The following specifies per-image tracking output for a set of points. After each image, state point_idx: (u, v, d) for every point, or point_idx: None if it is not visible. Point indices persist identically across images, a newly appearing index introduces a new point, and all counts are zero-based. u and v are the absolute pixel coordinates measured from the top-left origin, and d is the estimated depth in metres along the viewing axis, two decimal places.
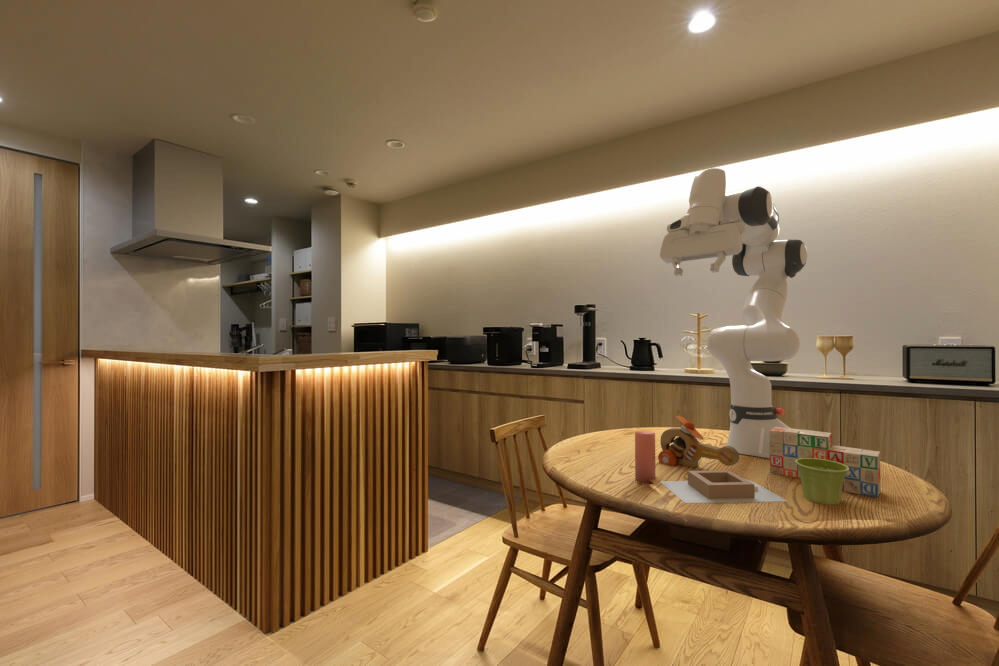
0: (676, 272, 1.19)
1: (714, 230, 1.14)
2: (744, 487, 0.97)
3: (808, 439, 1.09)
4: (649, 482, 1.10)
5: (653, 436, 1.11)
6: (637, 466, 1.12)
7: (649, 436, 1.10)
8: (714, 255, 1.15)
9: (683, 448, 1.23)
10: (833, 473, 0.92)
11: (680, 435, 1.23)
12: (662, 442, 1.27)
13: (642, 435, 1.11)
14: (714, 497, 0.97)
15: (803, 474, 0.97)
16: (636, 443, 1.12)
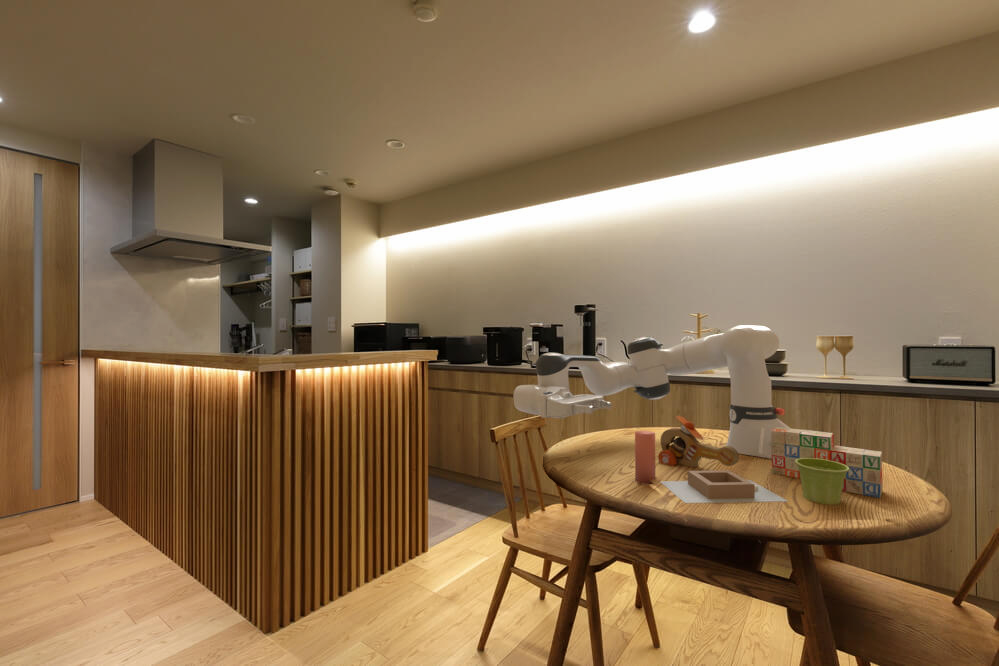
0: (590, 406, 1.18)
1: (576, 395, 1.31)
2: (744, 487, 0.97)
3: (810, 439, 1.09)
4: (649, 482, 1.10)
5: (653, 436, 1.11)
6: (637, 466, 1.12)
7: (649, 436, 1.10)
8: None
9: (683, 448, 1.22)
10: (833, 473, 0.92)
11: (680, 435, 1.23)
12: (662, 442, 1.27)
13: (642, 435, 1.11)
14: (714, 497, 0.97)
15: (803, 474, 0.97)
16: (636, 443, 1.12)
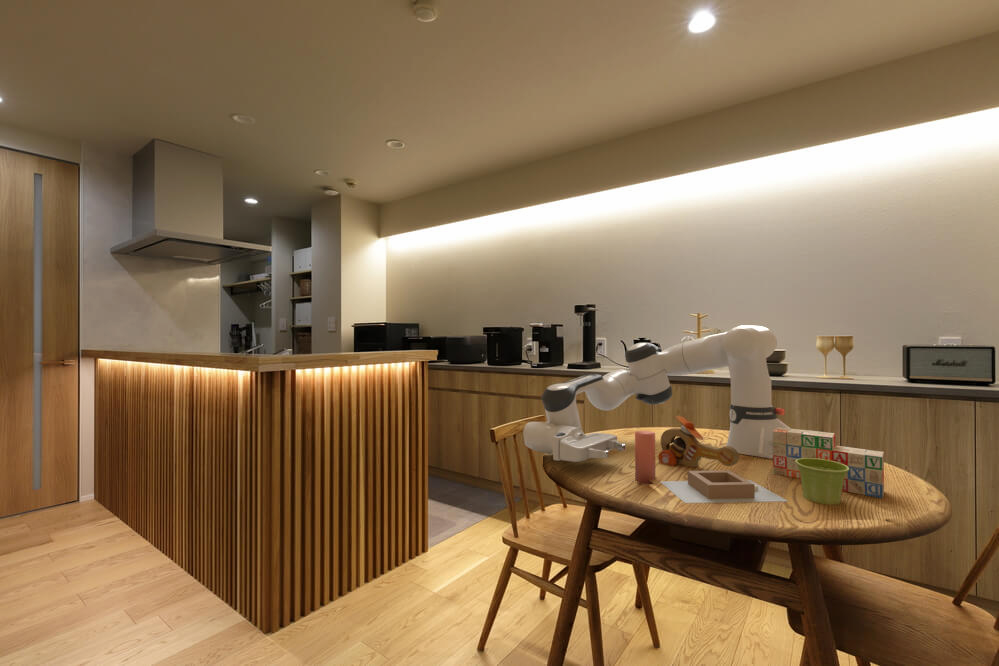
0: (605, 451, 1.14)
1: (589, 435, 1.28)
2: (744, 487, 0.97)
3: (811, 439, 1.09)
4: (649, 482, 1.10)
5: (653, 436, 1.11)
6: (637, 466, 1.12)
7: (649, 436, 1.10)
8: (605, 449, 1.24)
9: (683, 448, 1.22)
10: (833, 473, 0.92)
11: (680, 435, 1.23)
12: (662, 442, 1.27)
13: (642, 435, 1.11)
14: (714, 497, 0.97)
15: (803, 474, 0.97)
16: (636, 443, 1.12)
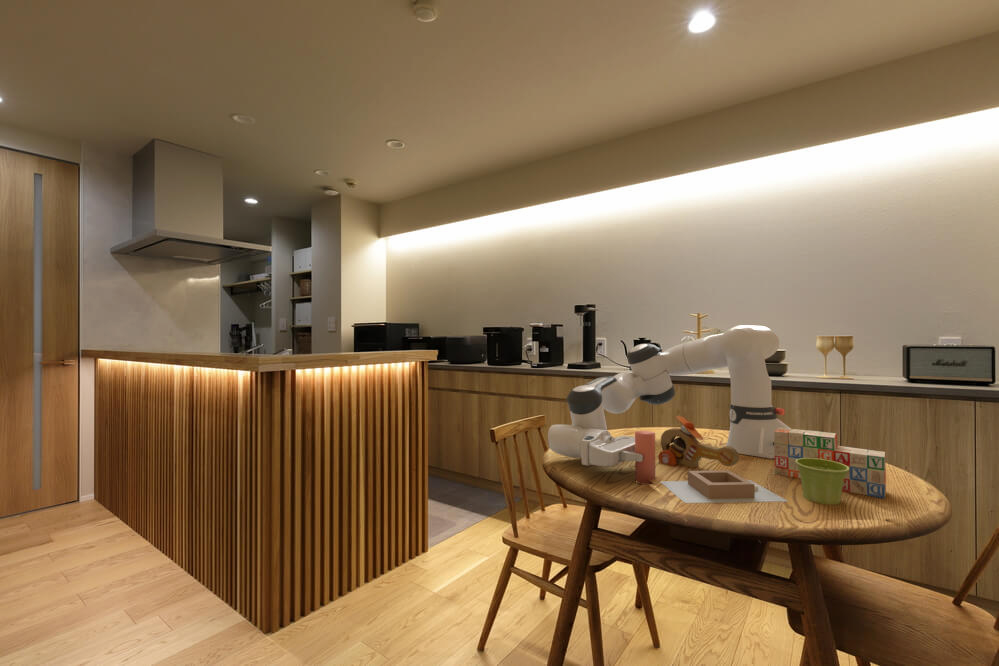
0: (641, 454, 1.10)
1: (618, 438, 1.22)
2: (744, 487, 0.97)
3: (813, 440, 1.09)
4: (649, 482, 1.10)
5: (653, 436, 1.11)
6: (637, 466, 1.12)
7: (649, 436, 1.10)
8: None
9: (683, 448, 1.22)
10: (833, 473, 0.92)
11: (680, 435, 1.23)
12: (662, 442, 1.27)
13: (642, 435, 1.11)
14: (714, 497, 0.97)
15: (803, 474, 0.97)
16: (636, 443, 1.12)
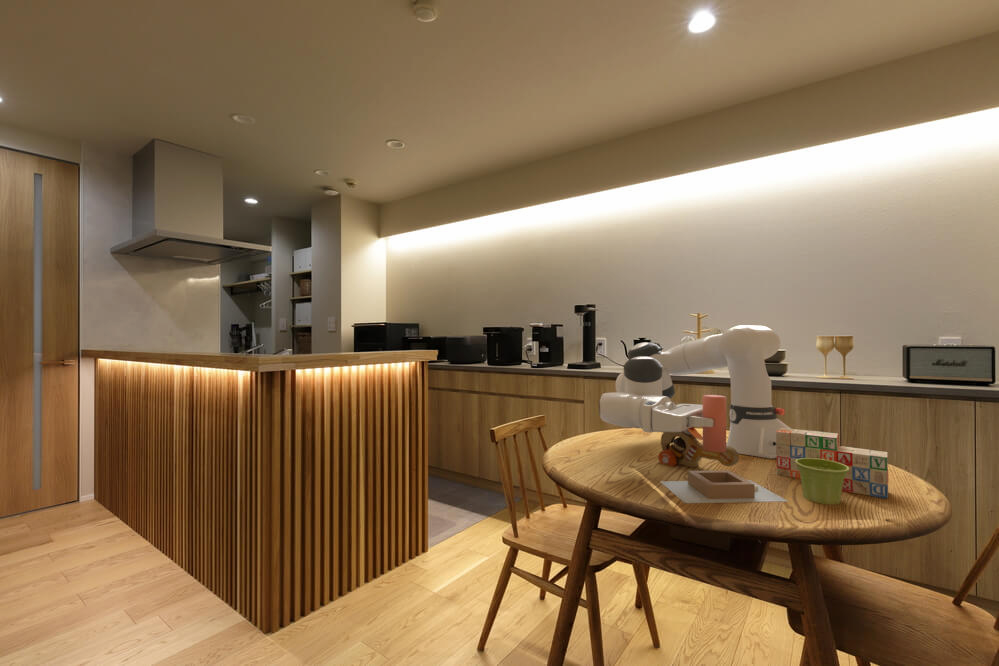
0: (711, 418, 1.00)
1: (678, 405, 1.12)
2: (744, 487, 0.97)
3: (816, 440, 1.08)
4: (720, 450, 1.00)
5: (724, 399, 1.01)
6: (706, 432, 1.02)
7: (720, 399, 1.00)
8: None
9: (683, 448, 1.22)
10: (833, 473, 0.92)
11: (680, 435, 1.23)
12: (662, 442, 1.27)
13: (712, 398, 1.01)
14: (714, 497, 0.97)
15: (803, 474, 0.97)
16: (705, 407, 1.02)
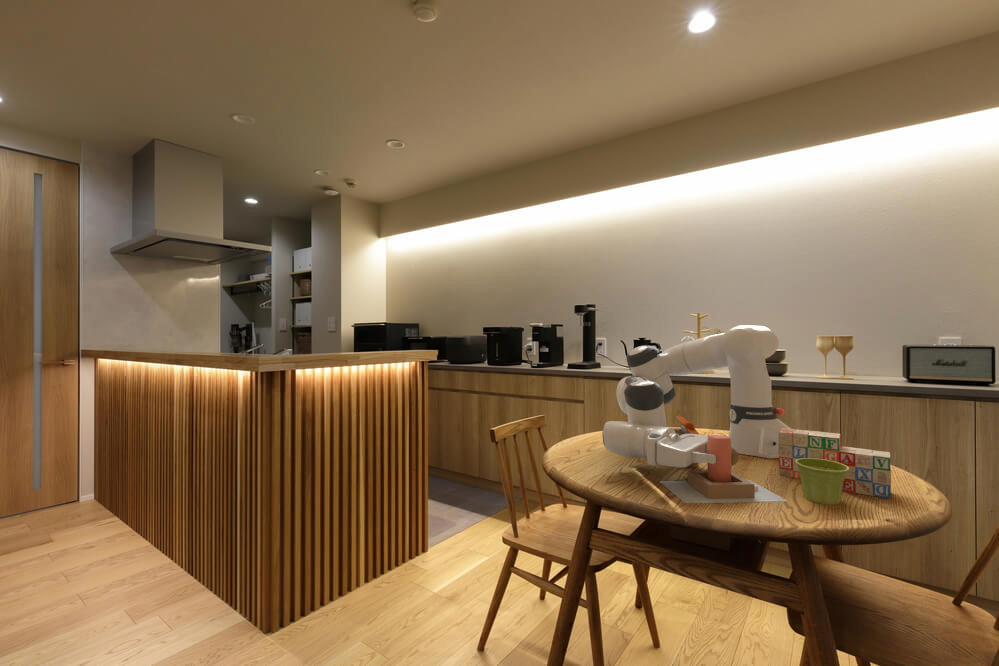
0: (714, 455, 0.98)
1: (683, 436, 1.12)
2: (744, 487, 0.97)
3: (818, 440, 1.08)
4: None
5: (730, 441, 1.00)
6: (711, 474, 1.01)
7: (726, 441, 1.00)
8: (705, 452, 1.08)
9: None
10: (833, 473, 0.92)
11: None
12: None
13: (718, 440, 1.00)
14: (714, 497, 0.97)
15: (803, 474, 0.97)
16: (710, 448, 1.02)
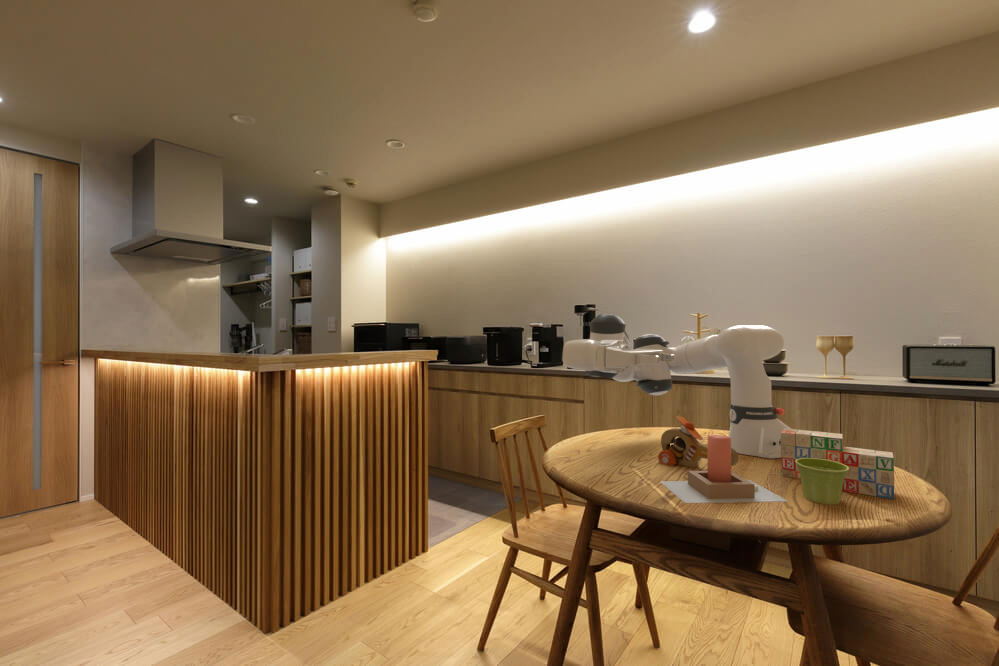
0: (655, 355, 1.07)
1: (634, 349, 1.21)
2: (744, 487, 0.97)
3: (821, 441, 1.08)
4: None
5: (729, 441, 1.00)
6: (711, 474, 1.01)
7: (725, 441, 1.00)
8: None
9: (683, 448, 1.22)
10: (833, 473, 0.92)
11: (680, 435, 1.22)
12: (662, 442, 1.27)
13: (717, 439, 1.00)
14: (714, 497, 0.97)
15: (802, 474, 0.97)
16: (710, 448, 1.02)
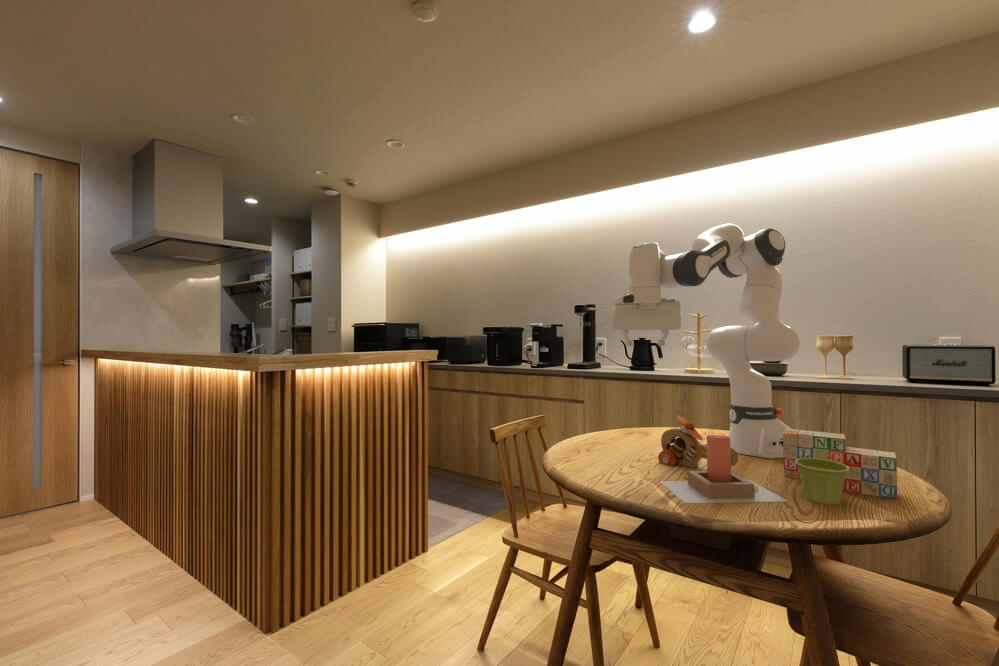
0: (629, 344, 1.31)
1: (661, 309, 1.30)
2: (744, 487, 0.97)
3: (824, 441, 1.07)
4: None
5: (729, 440, 1.01)
6: (711, 474, 1.01)
7: (725, 440, 1.00)
8: None
9: (683, 448, 1.22)
10: (833, 473, 0.92)
11: (680, 435, 1.22)
12: (663, 442, 1.27)
13: (717, 439, 1.00)
14: (714, 497, 0.97)
15: (803, 474, 0.97)
16: (709, 448, 1.02)
